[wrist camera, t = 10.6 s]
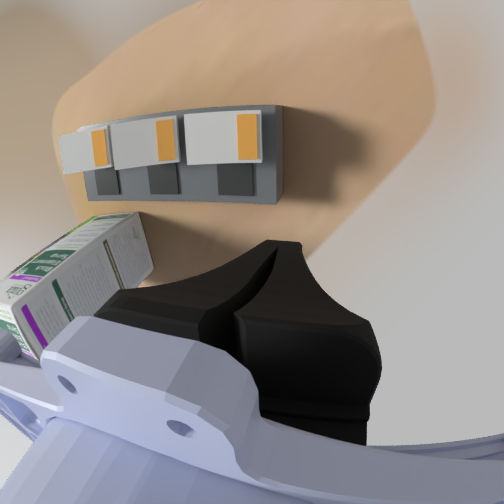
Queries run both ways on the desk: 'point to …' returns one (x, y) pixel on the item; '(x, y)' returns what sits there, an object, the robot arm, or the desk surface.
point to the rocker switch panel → (197, 169)
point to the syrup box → (73, 278)
